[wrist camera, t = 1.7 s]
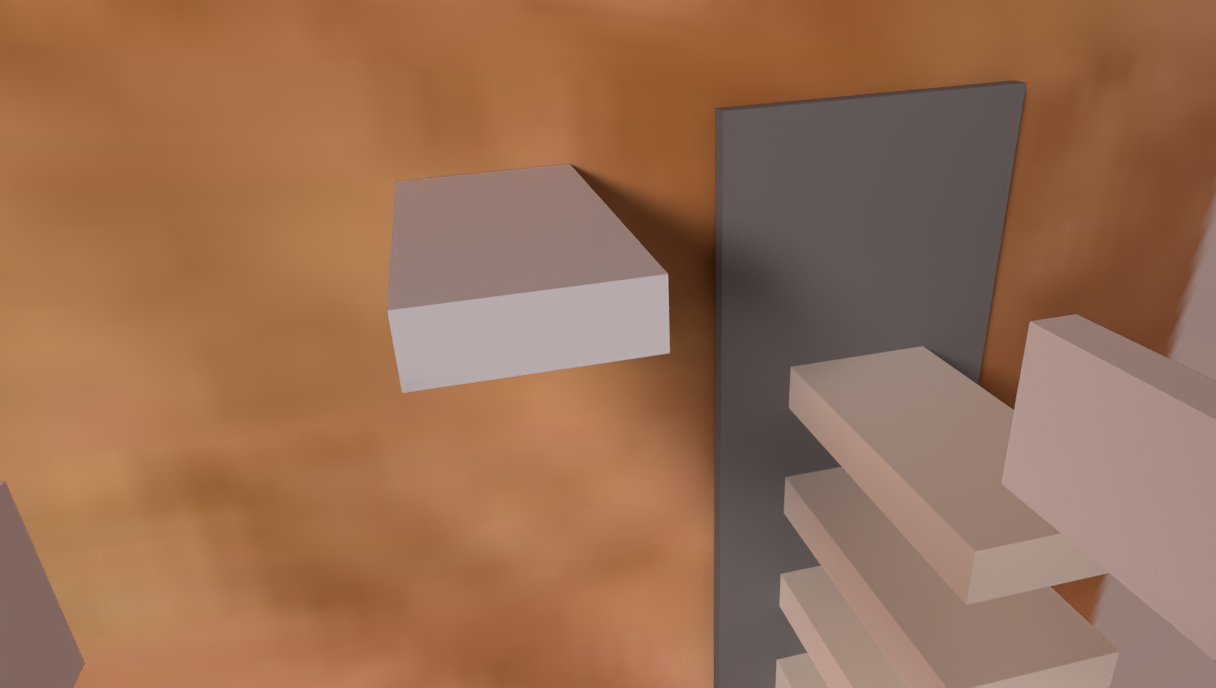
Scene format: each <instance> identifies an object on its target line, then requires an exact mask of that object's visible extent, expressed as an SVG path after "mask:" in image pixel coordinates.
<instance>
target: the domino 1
mask: <svg viewBox="0 0 1216 688" xmlns="http://www.w3.org/2000/svg"><path fill="white" fill-rule="evenodd" d="M387 313H388V318H389V324H390V329H391V334H392V340H393V345H394V351H395V356H396V362H397V367H398V373H399V378H400V384H401V389H402V393H405V392H412V391H419V390H426V389H432V388H439V387H446V386H452V385H459V384H466V383H473V382H479V381H486V380H493V379H500V378H506V377H513V376H520V375H526V374H533V373H540V372H547V371H553V370H560V369H567V368H574V367H580V366H587V365H594V364H601V363H607V362H614V361H621V360H627V359H634V358H641V357H648V356H654V355H661V354H668V353H670V333H669V289H668V273H667V272H666V271H665V270H664V269H663V268H662V267H661V265H660V264H659V263H658V262H657V261H656V260H655V259H654V258H653V256H652V255H651V254H650V253H649V252H648V251H647V250H646V249H645V248H644V246H643V245H642V244H641V243H640V242H639V241H638V240H637V239H636V237H635V236H634V235H633V234H632V233H631V232H630V231H629V230H628V229H627V227H626V226H625V225H624V224H623V223H622V222H621V221H620V220H619V218H618V217H617V216H616V215H615V214H614V213H613V212H612V211H611V209H610V208H609V207H608V206H607V205H606V204H605V203H604V202H603V201H602V199H601V198H600V197H599V196H598V195H597V194H596V193H595V192H594V190H593V189H592V188H591V187H590V186H589V185H588V184H587V183H586V182H585V180H584V179H583V178H582V177H581V176H580V175H579V174H578V173H577V171H576V170H575V169H574V168H573V167H572V166H571V165H570V164H563V165H553V166H544V167H534V168H524V169H514V170H504V171H495V172H485V173H475V174H465V175H455V176H446V177H436V178H426V179H416V180H406V181H396V182H395V196H394V212H393V227H392V243H391V258H390V274H389V289H388V305H387Z"/></svg>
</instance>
